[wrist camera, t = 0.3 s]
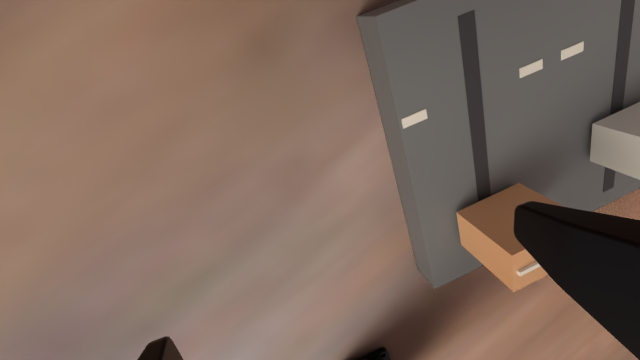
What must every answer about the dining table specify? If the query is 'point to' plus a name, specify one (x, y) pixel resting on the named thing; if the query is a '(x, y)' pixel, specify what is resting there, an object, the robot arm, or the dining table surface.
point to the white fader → (618, 141)
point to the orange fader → (501, 236)
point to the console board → (497, 106)
